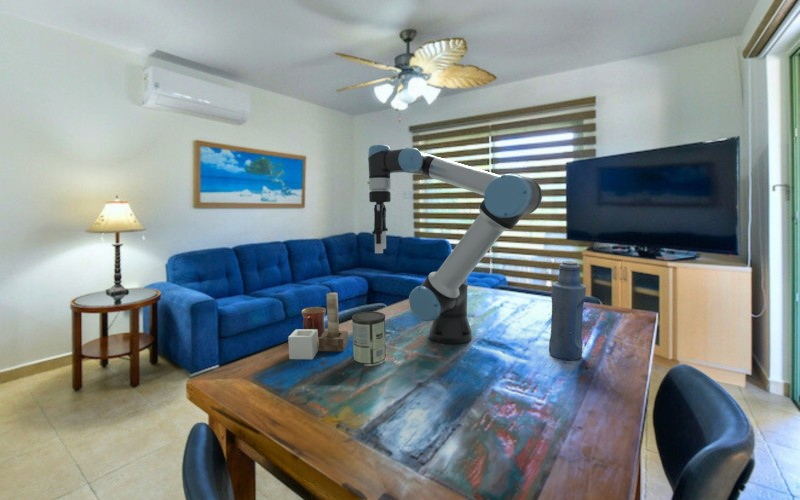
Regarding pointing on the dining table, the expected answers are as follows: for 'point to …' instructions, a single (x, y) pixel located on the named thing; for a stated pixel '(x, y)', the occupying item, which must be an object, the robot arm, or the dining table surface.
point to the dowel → (332, 315)
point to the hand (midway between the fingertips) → (380, 251)
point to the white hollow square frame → (303, 344)
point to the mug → (314, 319)
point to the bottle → (567, 313)
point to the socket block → (333, 342)
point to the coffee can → (369, 338)
